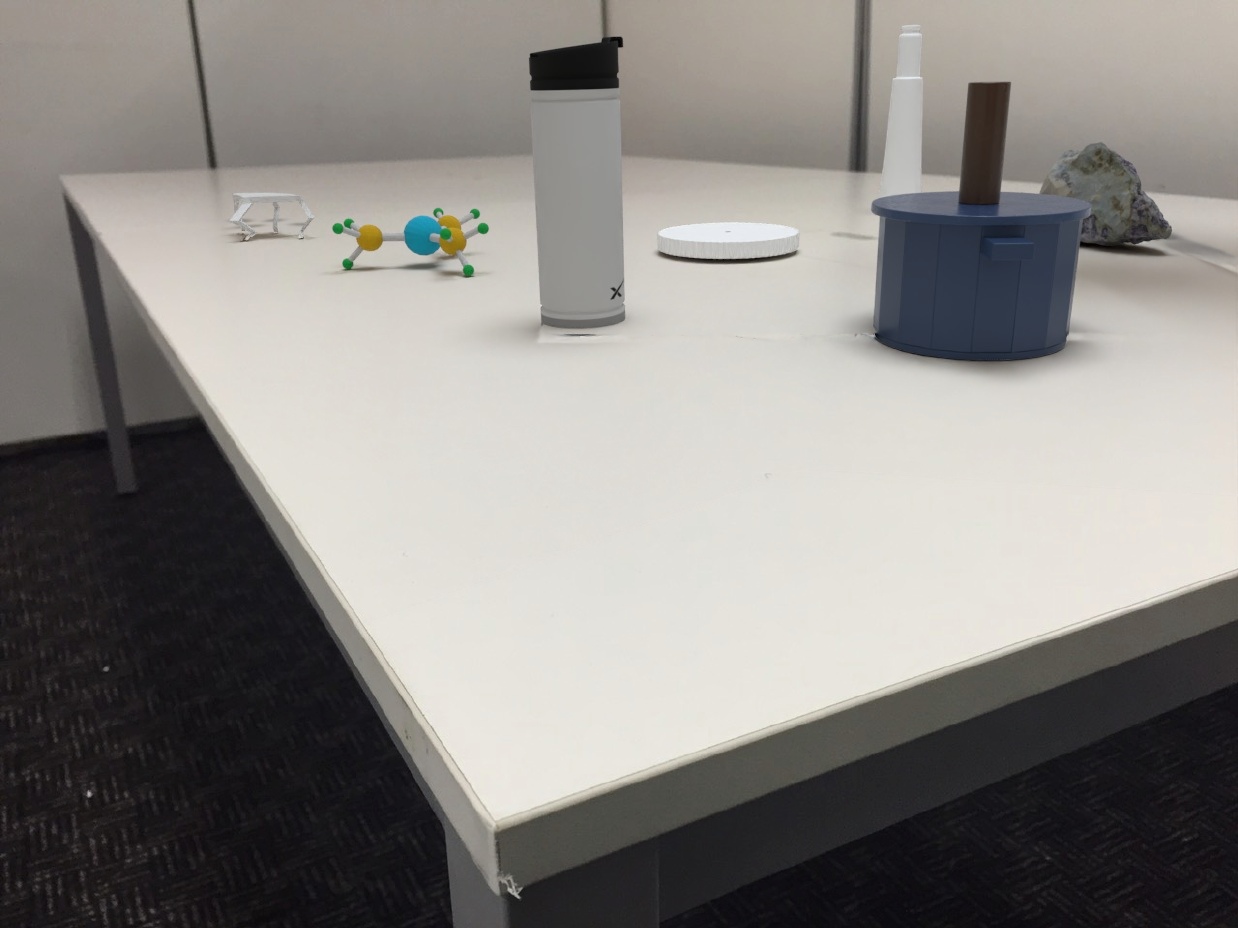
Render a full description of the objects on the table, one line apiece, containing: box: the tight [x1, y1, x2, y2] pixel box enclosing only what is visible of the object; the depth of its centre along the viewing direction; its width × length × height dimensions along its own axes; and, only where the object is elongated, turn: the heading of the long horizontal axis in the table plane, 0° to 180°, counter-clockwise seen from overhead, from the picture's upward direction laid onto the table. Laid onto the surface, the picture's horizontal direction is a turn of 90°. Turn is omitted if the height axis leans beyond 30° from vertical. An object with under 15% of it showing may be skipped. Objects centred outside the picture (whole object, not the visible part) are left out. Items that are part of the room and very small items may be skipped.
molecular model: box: [332, 207, 490, 277], centre depth 105 cm, size 16×5×15 cm
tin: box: [872, 216, 1083, 361], centre depth 72 cm, size 13×18×8 cm
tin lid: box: [870, 81, 1092, 226], centre depth 70 cm, size 14×14×9 cm
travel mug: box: [528, 36, 626, 336], centre depth 76 cm, size 6×7×20 cm
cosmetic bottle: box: [877, 24, 924, 199], centre depth 131 cm, size 6×6×22 cm
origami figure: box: [229, 192, 315, 239], centre depth 127 cm, size 12×8×5 cm
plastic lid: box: [656, 221, 800, 260], centre depth 107 cm, size 14×14×2 cm
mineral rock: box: [1038, 141, 1173, 247], centre depth 107 cm, size 13×11×10 cm
